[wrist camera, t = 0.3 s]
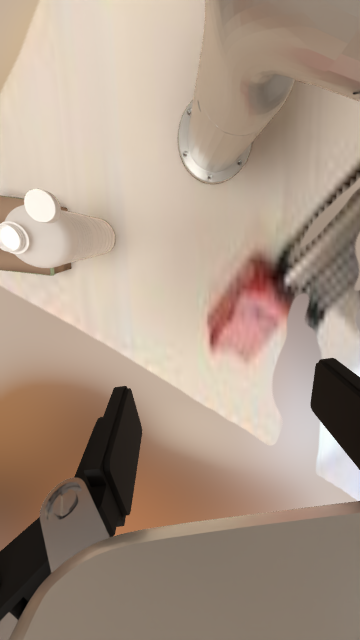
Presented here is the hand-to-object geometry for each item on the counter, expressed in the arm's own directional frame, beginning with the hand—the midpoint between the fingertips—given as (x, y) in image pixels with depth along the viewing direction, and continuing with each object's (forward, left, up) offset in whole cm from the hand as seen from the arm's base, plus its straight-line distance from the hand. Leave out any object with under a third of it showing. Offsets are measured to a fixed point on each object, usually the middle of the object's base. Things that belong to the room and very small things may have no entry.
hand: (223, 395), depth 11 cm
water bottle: (-6, -17, -37) cm, 41 cm away
